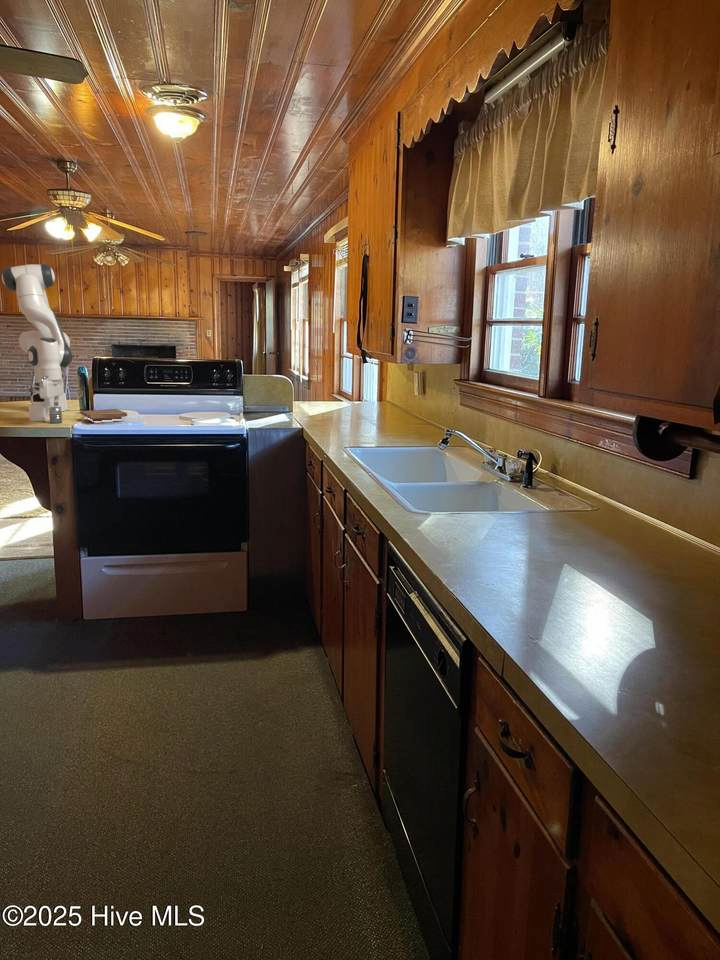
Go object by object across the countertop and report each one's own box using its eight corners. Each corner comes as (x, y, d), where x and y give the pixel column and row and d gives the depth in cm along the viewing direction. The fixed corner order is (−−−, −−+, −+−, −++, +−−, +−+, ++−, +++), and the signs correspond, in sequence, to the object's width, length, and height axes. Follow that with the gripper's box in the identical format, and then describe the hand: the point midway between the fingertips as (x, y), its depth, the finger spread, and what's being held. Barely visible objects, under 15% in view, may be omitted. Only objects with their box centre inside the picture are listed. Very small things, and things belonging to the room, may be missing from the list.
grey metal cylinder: (48, 422, 314) (47, 406, 313) (61, 421, 317) (59, 406, 316) (51, 424, 310) (49, 408, 308) (64, 423, 313) (62, 407, 311)
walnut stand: (81, 419, 324) (81, 411, 323) (117, 417, 332) (116, 408, 332) (91, 424, 311) (90, 415, 310) (127, 421, 320) (127, 413, 319)
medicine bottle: (52, 419, 323) (50, 393, 320) (44, 421, 316) (42, 395, 314) (38, 418, 324) (35, 392, 321) (29, 421, 317) (27, 394, 314)
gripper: (49, 377, 298) (51, 409, 301) (65, 374, 318) (67, 404, 321) (34, 377, 298) (36, 409, 301) (51, 373, 318) (53, 404, 321)
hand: (52, 407), depth 311 cm, fingers open, 8 cm apart
